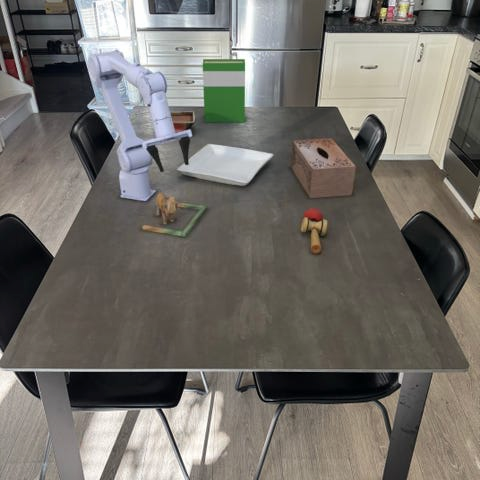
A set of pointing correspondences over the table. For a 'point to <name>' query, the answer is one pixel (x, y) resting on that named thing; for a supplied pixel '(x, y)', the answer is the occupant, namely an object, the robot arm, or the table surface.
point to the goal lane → (188, 227)
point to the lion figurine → (166, 206)
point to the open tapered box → (183, 120)
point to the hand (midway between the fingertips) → (174, 168)
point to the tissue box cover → (322, 168)
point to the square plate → (225, 164)
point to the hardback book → (224, 90)
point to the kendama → (314, 227)
